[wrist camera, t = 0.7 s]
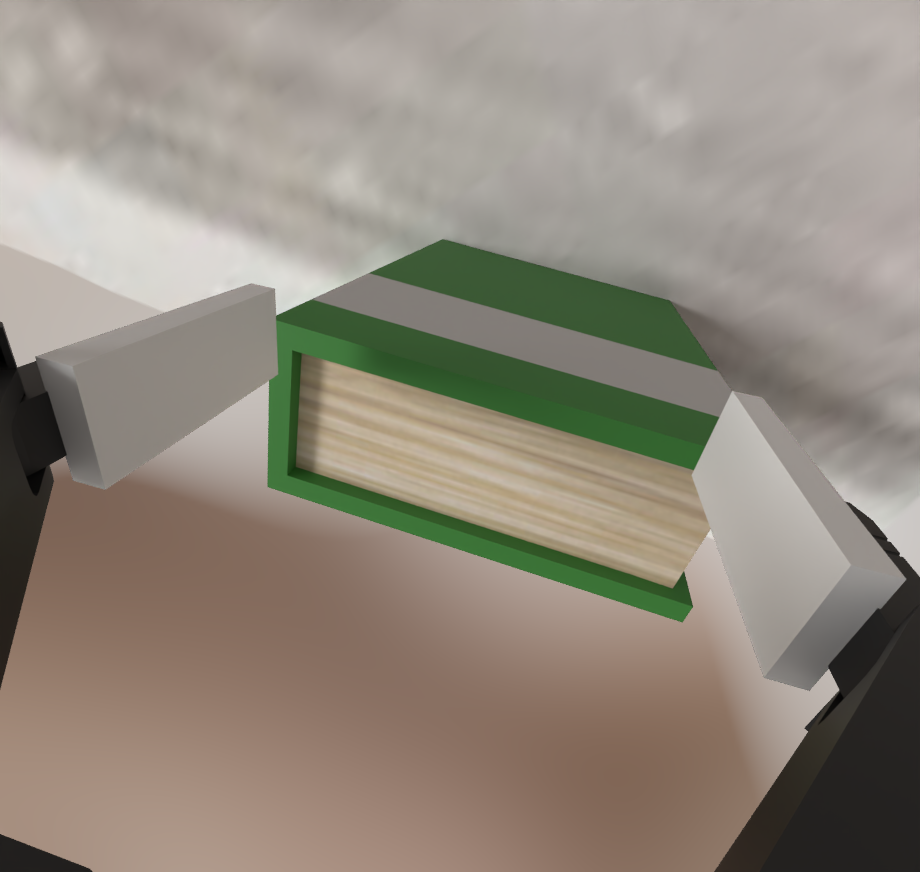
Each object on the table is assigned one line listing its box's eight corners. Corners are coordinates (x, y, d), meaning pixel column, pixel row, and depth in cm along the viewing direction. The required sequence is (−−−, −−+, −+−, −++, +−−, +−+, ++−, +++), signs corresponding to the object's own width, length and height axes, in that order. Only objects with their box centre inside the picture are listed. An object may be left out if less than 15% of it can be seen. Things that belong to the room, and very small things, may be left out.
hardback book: (669, 300, 36) (786, 470, 15) (630, 389, 40) (682, 622, 19) (442, 239, 37) (270, 318, 17) (425, 330, 41) (267, 486, 21)
